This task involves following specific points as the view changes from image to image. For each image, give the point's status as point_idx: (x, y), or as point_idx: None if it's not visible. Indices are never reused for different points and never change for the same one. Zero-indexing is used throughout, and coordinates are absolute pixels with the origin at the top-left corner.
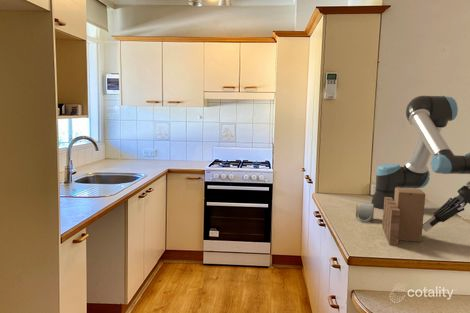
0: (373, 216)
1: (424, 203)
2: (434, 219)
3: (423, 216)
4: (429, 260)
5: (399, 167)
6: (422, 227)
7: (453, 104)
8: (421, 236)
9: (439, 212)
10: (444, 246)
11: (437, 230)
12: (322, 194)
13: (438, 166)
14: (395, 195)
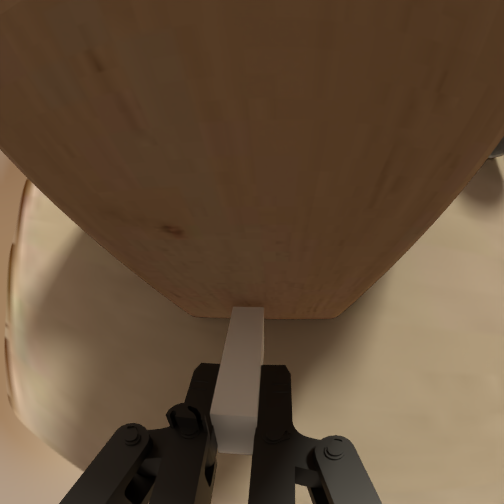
0: (499, 155)
1: (24, 173)
2: (208, 409)
3: (125, 262)
4: (7, 284)
5: None
6: (164, 294)
7: None
8: (180, 307)
9: (249, 491)
10: (157, 427)
11: (460, 444)
12: None
13: None
14: None
